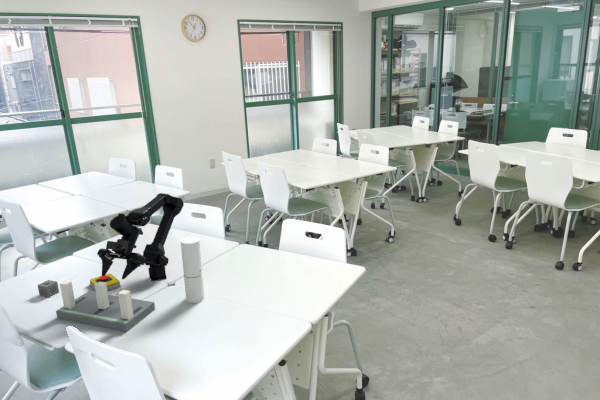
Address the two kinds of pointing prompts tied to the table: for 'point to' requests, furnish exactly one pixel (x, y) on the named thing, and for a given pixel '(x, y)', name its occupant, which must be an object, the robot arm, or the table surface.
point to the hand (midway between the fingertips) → (112, 277)
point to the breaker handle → (102, 295)
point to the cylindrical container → (192, 269)
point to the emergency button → (107, 282)
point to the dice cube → (48, 288)
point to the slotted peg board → (116, 316)
